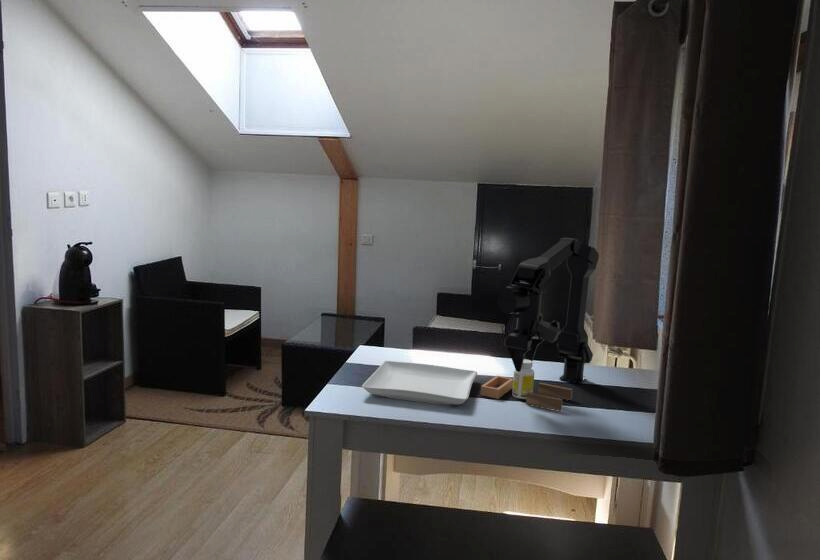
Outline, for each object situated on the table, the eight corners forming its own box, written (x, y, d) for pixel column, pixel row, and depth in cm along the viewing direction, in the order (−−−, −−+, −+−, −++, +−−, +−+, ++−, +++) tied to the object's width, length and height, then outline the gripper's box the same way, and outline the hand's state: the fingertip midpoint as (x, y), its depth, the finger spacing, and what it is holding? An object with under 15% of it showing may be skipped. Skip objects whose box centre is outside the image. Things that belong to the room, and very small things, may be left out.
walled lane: (538, 393, 177) (539, 382, 176) (571, 399, 173) (572, 389, 172) (525, 404, 167) (526, 393, 166) (560, 411, 163) (561, 400, 162)
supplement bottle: (535, 396, 174) (538, 360, 173) (528, 401, 169) (531, 365, 168) (516, 391, 177) (519, 357, 175) (508, 396, 172) (511, 361, 171)
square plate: (466, 413, 159) (467, 397, 158) (359, 399, 164) (360, 385, 163) (477, 381, 185) (478, 368, 185) (384, 371, 190) (385, 358, 190)
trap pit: (496, 384, 183) (496, 375, 182) (513, 387, 180) (513, 378, 180) (480, 395, 172) (481, 386, 172) (498, 398, 170) (498, 389, 169)
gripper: (549, 320, 158) (543, 381, 160) (568, 309, 174) (563, 365, 176) (505, 313, 163) (500, 373, 165) (528, 303, 179) (523, 358, 181)
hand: (523, 367), depth 172 cm, fingers open, 9 cm apart
